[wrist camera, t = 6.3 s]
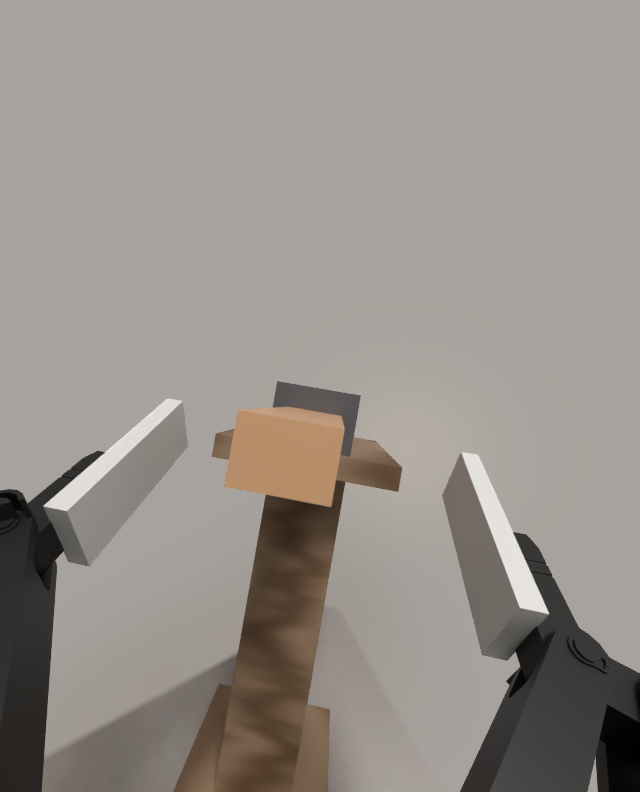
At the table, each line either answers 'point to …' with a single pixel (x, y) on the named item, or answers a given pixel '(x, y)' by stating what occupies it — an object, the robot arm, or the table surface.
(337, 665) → the table surface
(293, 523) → the stand
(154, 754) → the table surface
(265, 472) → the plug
